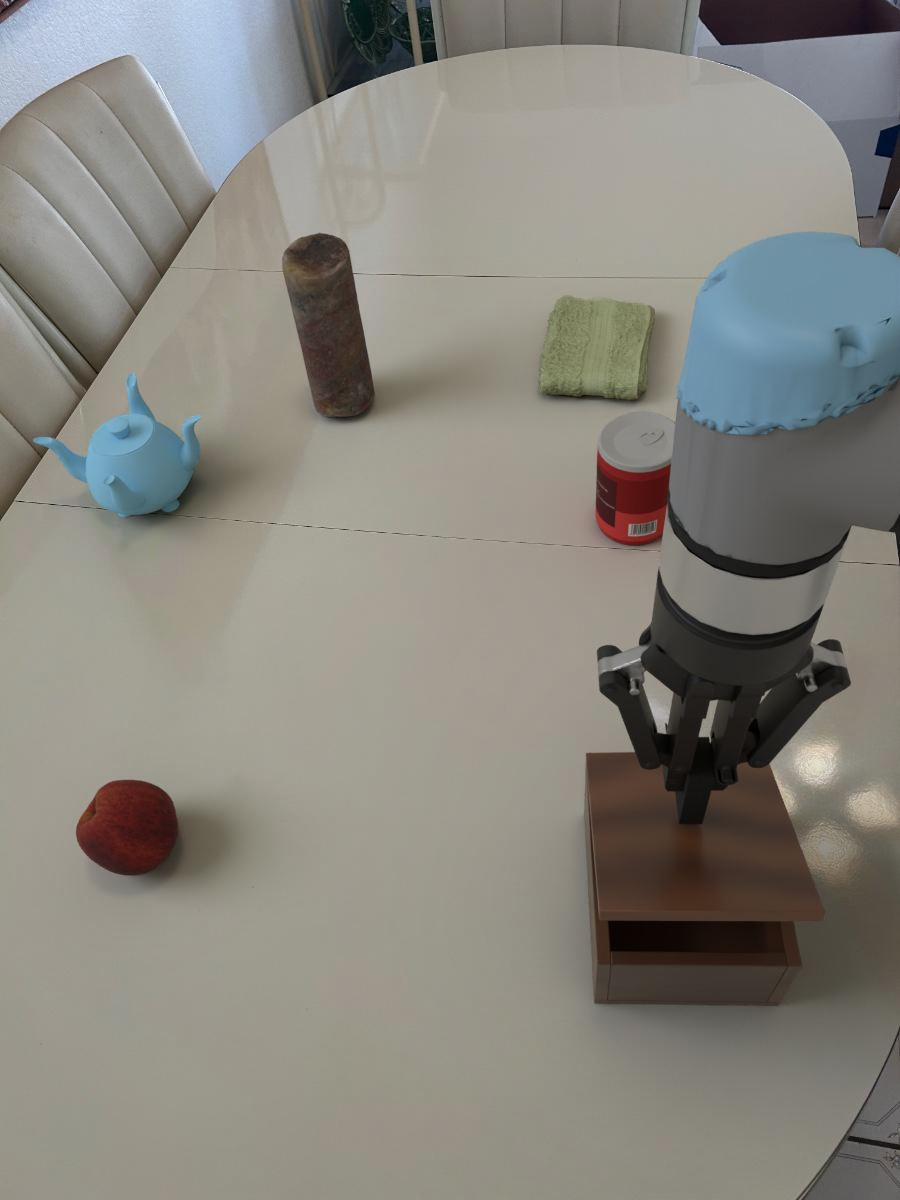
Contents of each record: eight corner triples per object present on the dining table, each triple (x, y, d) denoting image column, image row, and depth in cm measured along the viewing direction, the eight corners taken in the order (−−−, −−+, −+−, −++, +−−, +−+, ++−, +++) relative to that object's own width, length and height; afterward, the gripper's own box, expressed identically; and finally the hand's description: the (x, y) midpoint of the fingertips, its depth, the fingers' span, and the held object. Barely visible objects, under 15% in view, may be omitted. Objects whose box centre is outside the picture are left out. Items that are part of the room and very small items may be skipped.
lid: (824, 922, 54) (825, 911, 53) (599, 921, 55) (599, 910, 55) (763, 758, 68) (764, 749, 67) (585, 761, 69) (585, 752, 69)
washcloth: (656, 314, 116) (658, 291, 114) (645, 407, 106) (646, 384, 103) (551, 310, 119) (551, 287, 116) (530, 400, 108) (529, 378, 106)
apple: (135, 793, 81) (99, 747, 75) (210, 821, 79) (179, 777, 73) (84, 870, 77) (42, 829, 71) (162, 902, 75) (125, 862, 69)
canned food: (688, 513, 95) (700, 431, 86) (641, 560, 92) (648, 480, 83) (627, 480, 99) (632, 399, 90) (579, 524, 96) (580, 444, 87)
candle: (384, 385, 113) (355, 232, 97) (371, 426, 108) (338, 272, 93) (324, 383, 114) (285, 231, 98) (308, 423, 110) (265, 271, 94)
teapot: (230, 484, 105) (203, 415, 97) (135, 555, 99) (98, 488, 91) (161, 438, 111) (130, 369, 103) (69, 503, 105) (28, 435, 97)
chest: (778, 1006, 66) (802, 966, 59) (594, 1003, 67) (597, 965, 60) (745, 811, 75) (763, 757, 68) (584, 812, 76) (585, 759, 69)
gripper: (870, 510, 44) (780, 752, 63) (593, 520, 46) (585, 755, 64) (911, 638, 40) (801, 859, 58) (602, 645, 41) (590, 859, 60)
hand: (688, 804), depth 61 cm, fingers closed
